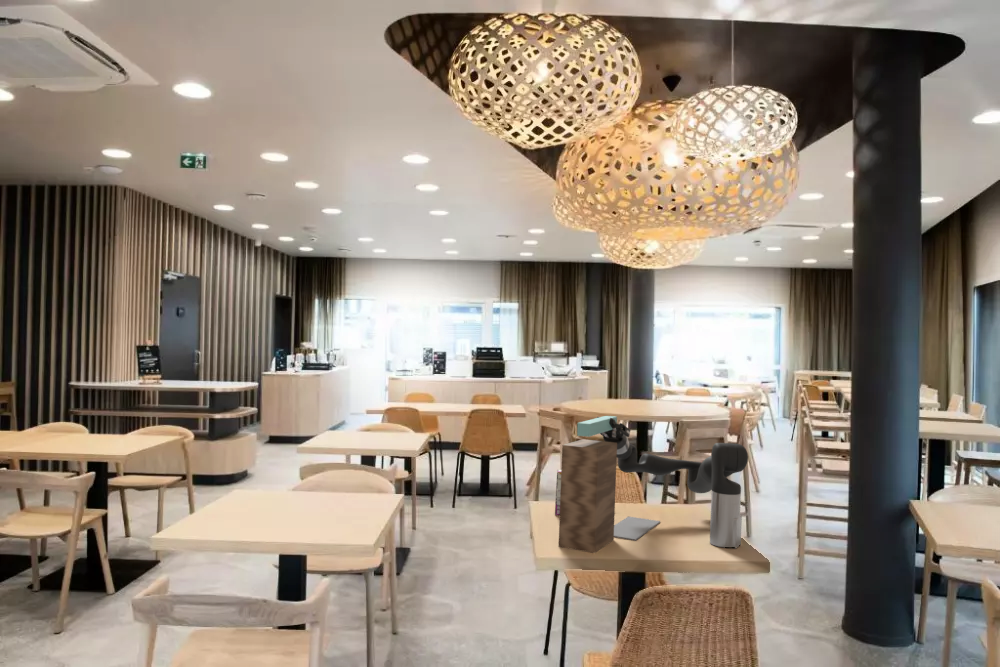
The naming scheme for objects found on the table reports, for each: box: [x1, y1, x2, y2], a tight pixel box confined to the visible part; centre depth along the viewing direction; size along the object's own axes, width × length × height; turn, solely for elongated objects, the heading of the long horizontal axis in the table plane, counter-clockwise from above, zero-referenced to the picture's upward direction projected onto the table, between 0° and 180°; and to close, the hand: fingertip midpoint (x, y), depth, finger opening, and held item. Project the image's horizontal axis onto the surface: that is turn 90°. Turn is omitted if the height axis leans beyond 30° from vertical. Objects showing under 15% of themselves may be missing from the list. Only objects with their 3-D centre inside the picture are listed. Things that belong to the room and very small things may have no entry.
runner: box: [614, 516, 661, 542], centre depth 255 cm, size 12×30×1 cm, turn 152°
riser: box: [558, 438, 618, 553], centre depth 234 cm, size 12×18×32 cm, turn 152°
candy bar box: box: [554, 469, 561, 516], centre depth 272 cm, size 11×5×16 cm, turn 84°
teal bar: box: [576, 415, 618, 438], centre depth 239 cm, size 4×28×4 cm, turn 153°
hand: (604, 419), depth 245 cm, fingers closed on teal bar, 4 cm apart
